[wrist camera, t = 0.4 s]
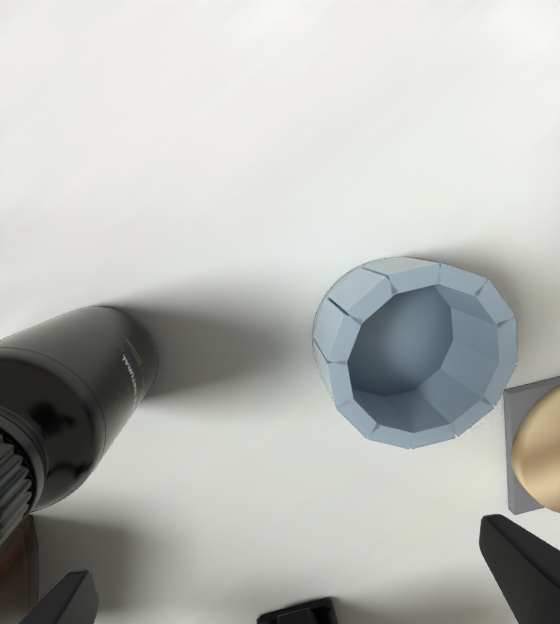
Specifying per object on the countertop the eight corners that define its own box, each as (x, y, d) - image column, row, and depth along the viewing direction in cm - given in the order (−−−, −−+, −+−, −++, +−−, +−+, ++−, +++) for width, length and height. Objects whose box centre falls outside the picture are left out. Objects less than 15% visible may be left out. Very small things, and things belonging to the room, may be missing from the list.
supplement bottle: (183, 362, 21) (96, 526, 9) (105, 423, 21) (-68, 650, 10) (104, 279, 19) (-124, 354, 8) (22, 348, 20) (-306, 516, 8)
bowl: (462, 381, 23) (519, 422, 18) (327, 415, 23) (347, 465, 18) (451, 241, 20) (513, 245, 16) (298, 278, 20) (313, 292, 15)
